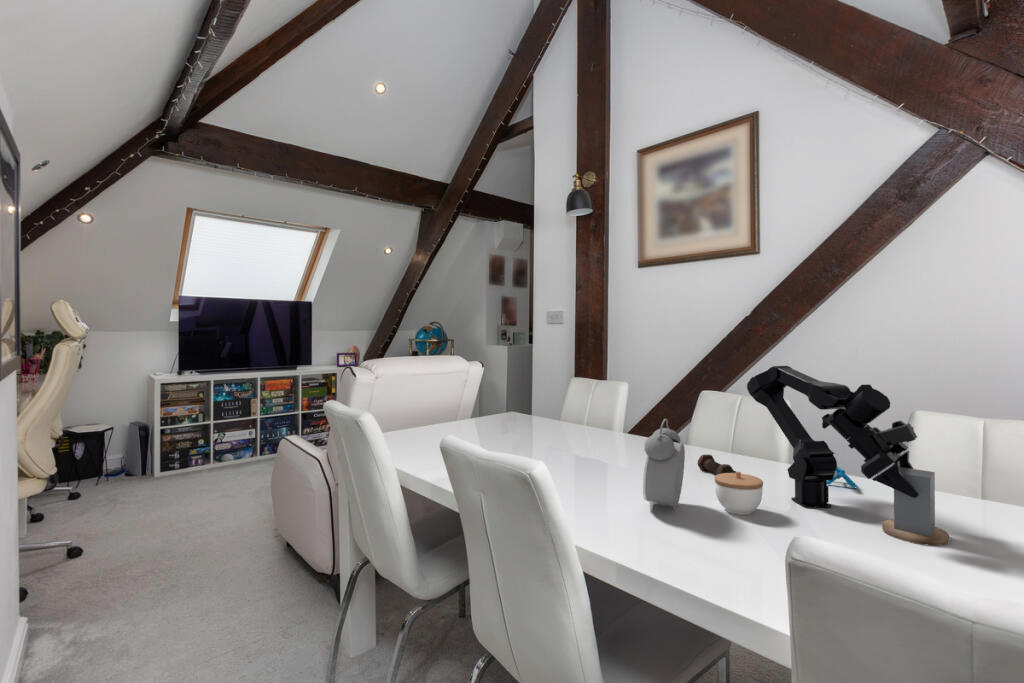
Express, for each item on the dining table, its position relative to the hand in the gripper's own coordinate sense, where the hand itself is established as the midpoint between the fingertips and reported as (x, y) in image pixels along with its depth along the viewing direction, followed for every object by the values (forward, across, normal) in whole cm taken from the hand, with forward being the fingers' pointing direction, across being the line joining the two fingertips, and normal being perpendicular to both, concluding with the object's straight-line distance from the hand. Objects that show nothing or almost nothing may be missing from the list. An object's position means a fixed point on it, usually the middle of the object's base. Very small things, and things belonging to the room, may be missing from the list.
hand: (920, 491), depth 106 cm
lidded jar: (-17, -10, +30) cm, 36 cm away
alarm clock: (-27, -20, +40) cm, 52 cm away
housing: (+5, 0, +6) cm, 8 cm away
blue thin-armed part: (-8, +29, +21) cm, 37 cm away
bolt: (-28, +16, +42) cm, 53 cm away
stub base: (+6, 0, +7) cm, 9 cm away
